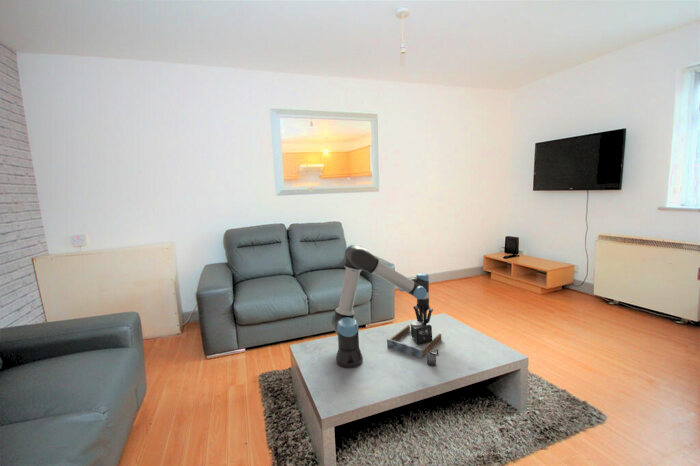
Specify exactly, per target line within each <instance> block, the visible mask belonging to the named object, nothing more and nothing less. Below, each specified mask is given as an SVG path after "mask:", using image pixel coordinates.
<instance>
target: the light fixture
mask: <svg viewBox="0 0 700 466" xmlns="http://www.w3.org/2000/svg"><path fill="white" fill-rule="evenodd" d="M410 336H411V338H412V339H413V340H415V344H416V345H417V346H423V345H425V344H429V343H430V342H431V341H432V340H433V326H432V325H431V324H427V325H423V324H422V323H421V322H419V321H417V320H414V321H412V322H411V323H410Z"/></svg>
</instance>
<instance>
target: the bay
mask: <svg viewBox="0 0 700 466" xmlns="http://www.w3.org/2000/svg"><path fill="white" fill-rule="evenodd" d="M410 332H411V324H410V325H409V324H408V325H406V326H405V327H404V328H402V329H401V330H400V331H399V332H397V333H395V334H394V335H393V336H392V337H391V338H387V339H386V347H387V348H389V349H392V350H394V351H398V352H400V353H404V354H406V355H407V354H408V355H409V356H412V357H416V358H418V359H424V358H425V357H427V352H429V351H432V350H433V349H434V348H435V347H436V346H437V345H438V344H439V343H440V342H441V341H442V333H438V334H437V335H436V336H435V337H434V338H432V341H431V342H430V343H427V345H426V346H424V347H423V348H419V347H415V346H412V345H409V344H406V343H403V342H400V340H401V339H402V338H403V337H404V336H406V335H407V334H408V333H410Z"/></svg>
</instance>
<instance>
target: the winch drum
mask: <svg viewBox="0 0 700 466" xmlns="http://www.w3.org/2000/svg"><path fill="white" fill-rule="evenodd" d="M439 355H440V354H439V349H436V352H435V351H432V350H431V351H429V352H427V355H426V365H427V366H428V367H436V366H437V357H439Z"/></svg>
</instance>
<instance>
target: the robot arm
mask: <svg viewBox="0 0 700 466" xmlns="http://www.w3.org/2000/svg"><path fill="white" fill-rule="evenodd" d="M344 259H345V260H344V263H343V266H344V268H345V273H344V277H343V283H342V289H341V293H340V299H339V303H338V307H337V308H335V311H334V313H333V315H332V317H331V324H332V328H333V329H334V331H335V333H336V335H337V341H338V343H337V345H338V347H337V353H336V357H335V362H336V364H337V365H338V366H339V367H341V368H344V369H354V368H357V367H358V366H360V365H361V364H363V357H364V356H363V354H362V352H361V349H360V339H359V338H360V337H359V336H360V335H359V328H360V327H359V324H358V321H357V320H356V319H355V311H354V310H353V309H354V304H355V300H356V294H357V290H358V284H359V280H360V274H361V272H362V271H364V272H366V273H368V274H370V275H371V274H373V275H375V276H377V277H379V278H381V279H382V280H384V281H386V282H388V283H389V284H392V285H393V286H395V287H397V288H398V290H399V291H400V292H405V293H407V294H409V295H411V296H412V297H414V298H415V299H416V305H414V306H413V310H414V313H415V317H416V321H419V322H421V323H422V324H423V325H428V324H429V323H430V321H431V318H432V317H431V316H432V313H433V311H434V309H433V308H431V307H430V286H429V285H430V277H429V274H428V273H426V272H418V273H417V274H416V277H407V276H405V275H404V274H402V273H400V272H398V271H396V270H395V269H393V268H392V267H390V266H388V265H386V264H385V263H382V262H381V261H380V259H379V258H378V257H377V256H375V255H374V254H372V253H371V252H370V251H368V250H367V249H366V248H364V247H363V246H362V245H360V244H356V243H355V244H354V243H353V244H350V245H348V246H347V247H346V248H345V250H344Z"/></svg>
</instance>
